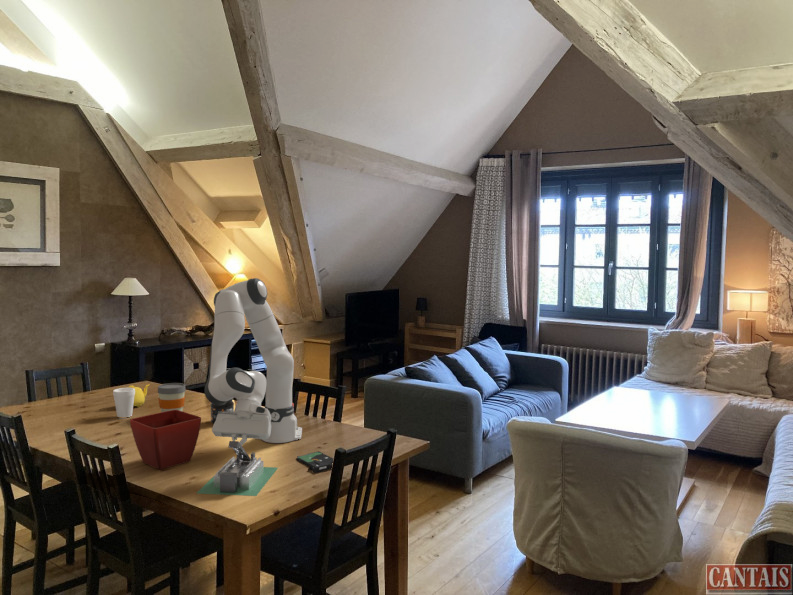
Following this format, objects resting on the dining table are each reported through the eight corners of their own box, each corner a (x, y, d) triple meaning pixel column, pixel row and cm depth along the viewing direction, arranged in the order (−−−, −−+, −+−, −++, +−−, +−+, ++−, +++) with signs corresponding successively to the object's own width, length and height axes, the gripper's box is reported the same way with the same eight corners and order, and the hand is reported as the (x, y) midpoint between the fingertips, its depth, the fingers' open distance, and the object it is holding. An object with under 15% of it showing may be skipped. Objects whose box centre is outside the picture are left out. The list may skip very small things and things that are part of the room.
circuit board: (224, 468, 223) (224, 465, 223) (278, 470, 221) (278, 467, 221) (195, 496, 197) (195, 493, 197) (256, 498, 195) (256, 495, 195)
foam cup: (128, 413, 297) (128, 386, 296) (139, 416, 291) (138, 389, 290) (109, 417, 289) (109, 390, 288) (120, 420, 284) (119, 393, 283)
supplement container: (213, 418, 288) (213, 393, 287) (236, 418, 289) (236, 393, 288) (207, 425, 278) (207, 399, 277) (231, 425, 278) (230, 399, 277)
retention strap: (241, 464, 215) (242, 458, 216) (249, 464, 215) (250, 459, 216) (228, 446, 202) (229, 440, 203) (237, 447, 201) (238, 441, 203)
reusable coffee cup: (152, 417, 289) (151, 386, 288) (174, 411, 300) (174, 381, 299) (169, 421, 283) (169, 389, 282) (191, 415, 293) (191, 384, 292)
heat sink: (230, 470, 217) (230, 451, 217) (263, 472, 216) (263, 452, 216) (209, 492, 198) (209, 471, 197) (245, 493, 197) (245, 472, 197)
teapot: (146, 401, 320) (145, 381, 319) (155, 405, 312) (154, 384, 311) (110, 407, 307) (110, 386, 306) (118, 411, 299) (118, 390, 298)
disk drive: (340, 468, 225) (318, 457, 237) (340, 461, 225) (318, 450, 237) (316, 474, 219) (295, 463, 230) (316, 467, 219) (295, 455, 230)
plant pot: (129, 462, 227) (128, 418, 226) (176, 450, 242) (175, 408, 241) (155, 475, 215) (154, 428, 214) (203, 461, 230) (202, 417, 229)
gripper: (216, 406, 216) (204, 441, 207) (272, 409, 214) (263, 445, 205) (220, 415, 221) (209, 450, 212) (275, 419, 219) (266, 454, 210)
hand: (236, 447), depth 208 cm, fingers closed, pressing on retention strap
